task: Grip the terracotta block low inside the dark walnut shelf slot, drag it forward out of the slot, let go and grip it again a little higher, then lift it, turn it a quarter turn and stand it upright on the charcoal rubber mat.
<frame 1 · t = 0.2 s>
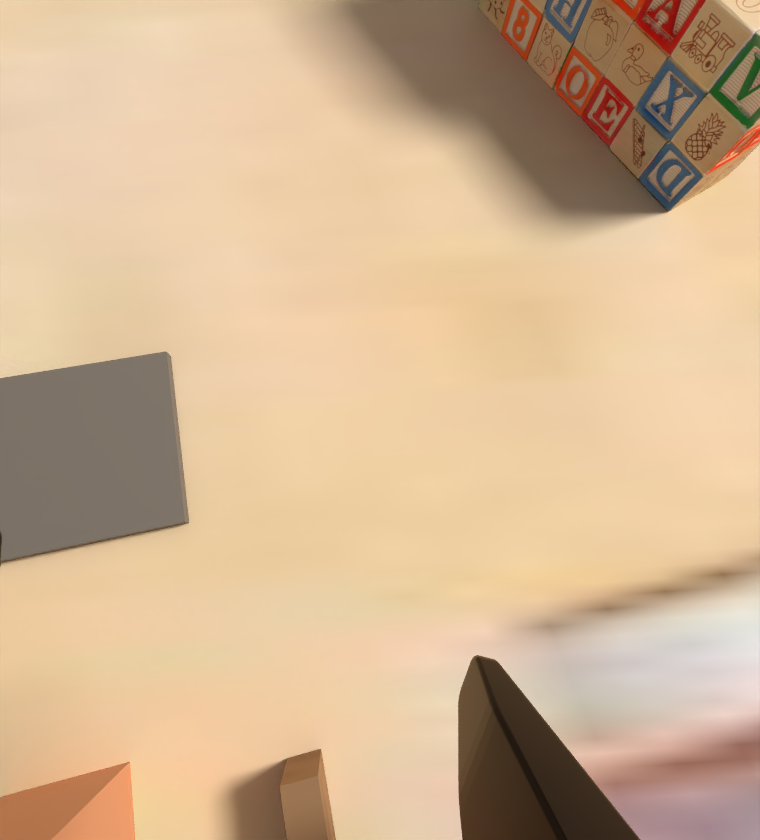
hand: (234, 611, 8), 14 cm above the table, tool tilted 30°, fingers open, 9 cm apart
charcoal mat: (55, 458, 23), on the table
stack of blocks: (595, 91, 33), on the table
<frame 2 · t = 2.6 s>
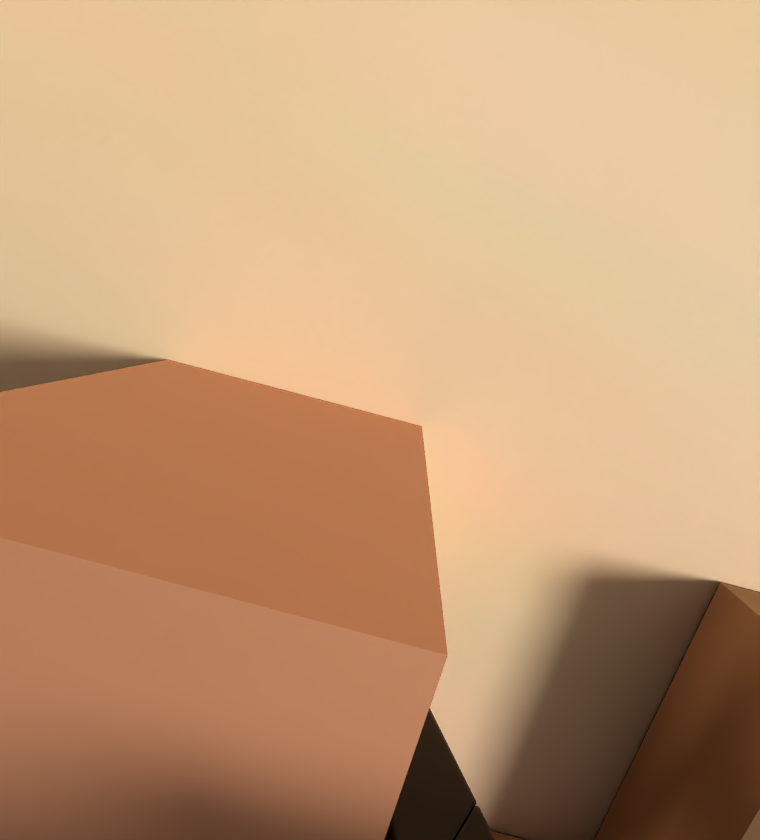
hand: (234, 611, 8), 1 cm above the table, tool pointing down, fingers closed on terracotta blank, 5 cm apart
walnut shelf slot: (255, 575, 10), on the table
terracotta blank: (189, 687, 7), in the walnut shelf slot, touching gripper
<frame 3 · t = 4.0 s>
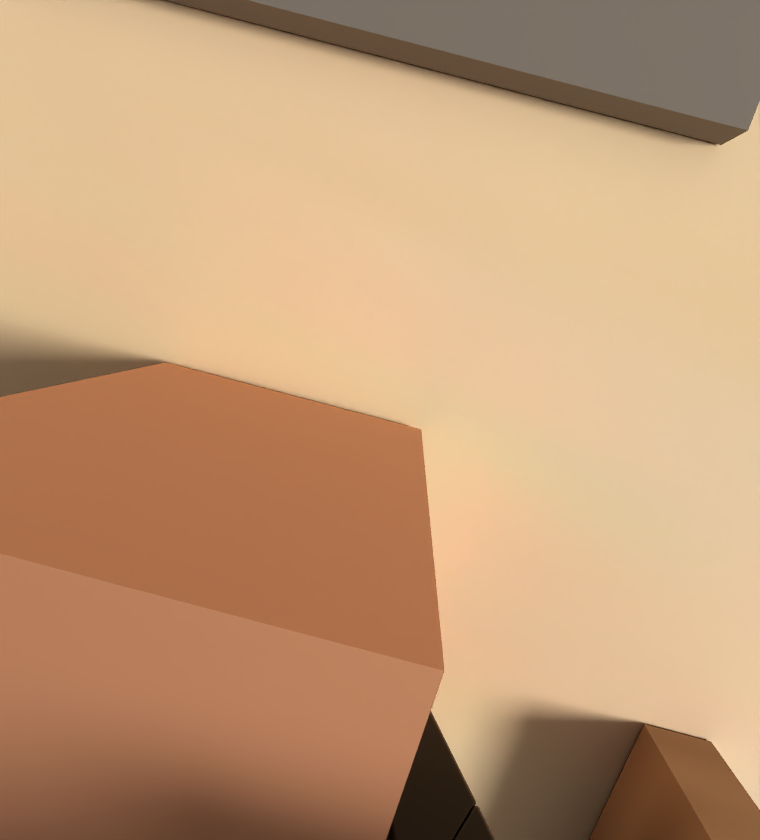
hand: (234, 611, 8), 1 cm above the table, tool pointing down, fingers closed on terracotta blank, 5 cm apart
walnut shelf slot: (225, 710, 11), on the table
terracotta blank: (187, 692, 7), on the table, touching gripper
when the fingers open (1 cm above the table, at t = 5.1 s): terracotta blank stays where it is, on the table.
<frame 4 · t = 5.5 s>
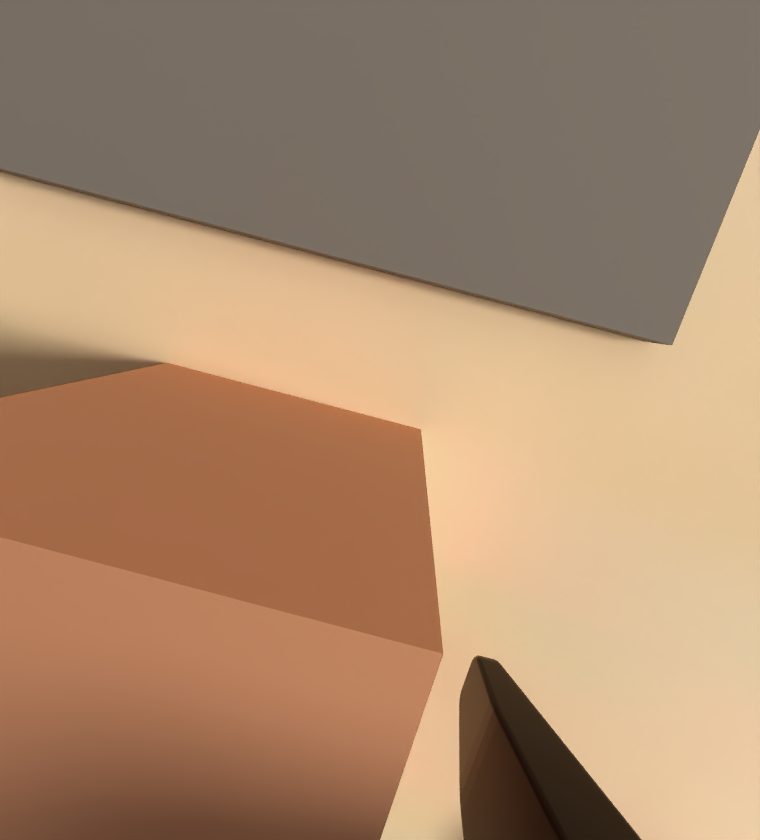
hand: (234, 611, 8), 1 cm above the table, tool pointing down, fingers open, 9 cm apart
terracotta blank: (192, 685, 7), on the table
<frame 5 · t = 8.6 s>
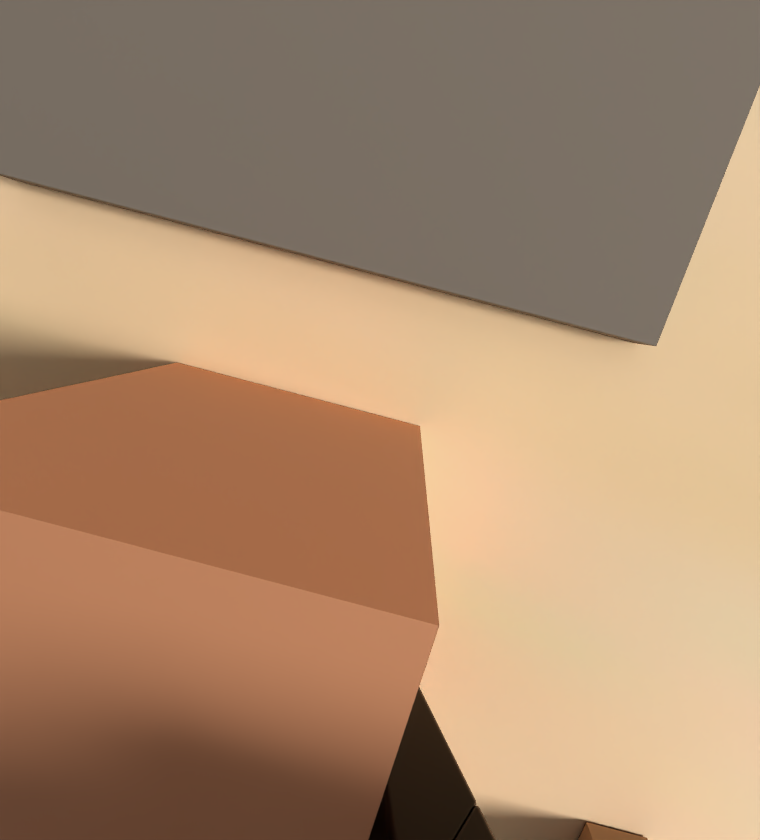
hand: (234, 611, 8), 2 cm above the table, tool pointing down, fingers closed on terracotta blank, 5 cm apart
walnut shelf slot: (209, 803, 12), on the table
terracotta blank: (200, 671, 7), on the table, touching gripper
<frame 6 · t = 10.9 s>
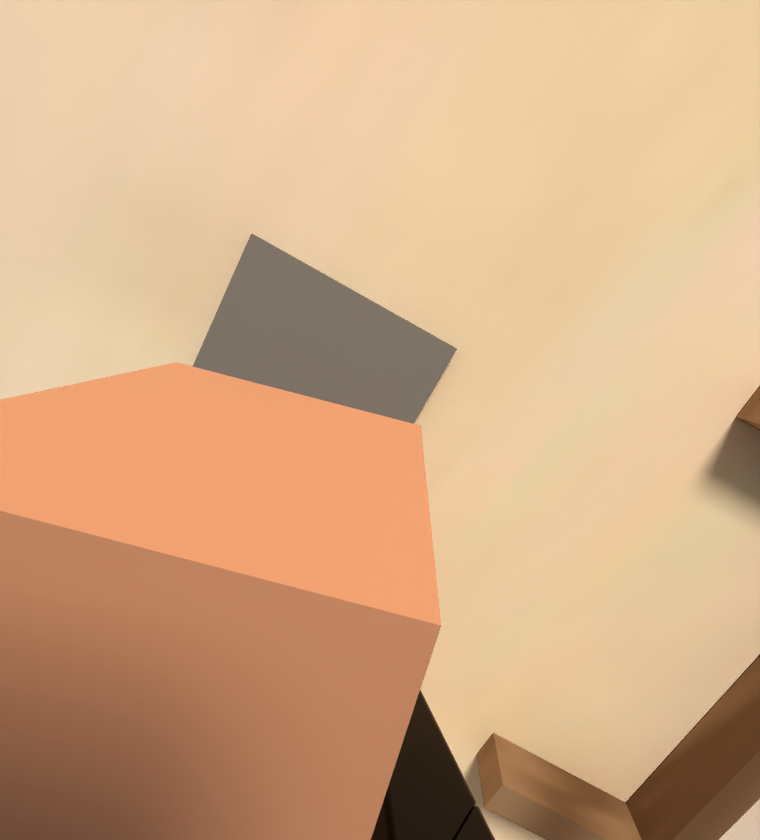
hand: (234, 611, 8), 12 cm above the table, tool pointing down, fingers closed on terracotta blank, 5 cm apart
walnut shelf slot: (651, 617, 20), on the table
terracotta blank: (201, 672, 7), point 13 cm above the table, touching gripper
charcoal mat: (291, 420, 20), on the table
when the fingers open (4 cm above the table, at t = 13.3 s): terracotta blank drops 1 cm, resting on charcoal mat.
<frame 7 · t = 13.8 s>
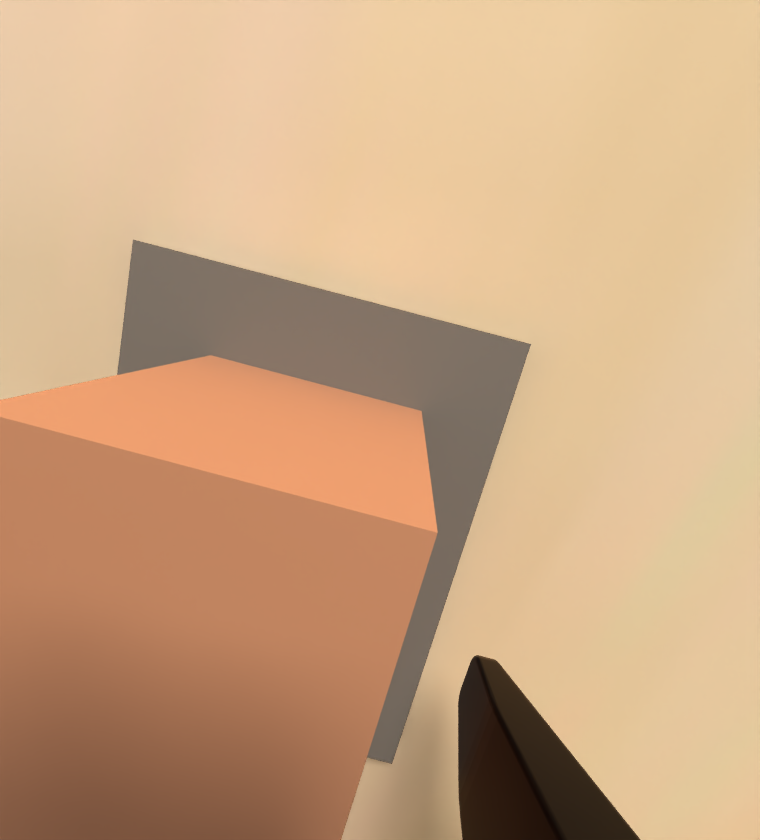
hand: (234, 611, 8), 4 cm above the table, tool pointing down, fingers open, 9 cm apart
terracotta blank: (238, 612, 9), on the charcoal mat, point 4 cm above the table
charcoal mat: (284, 523, 12), on the table
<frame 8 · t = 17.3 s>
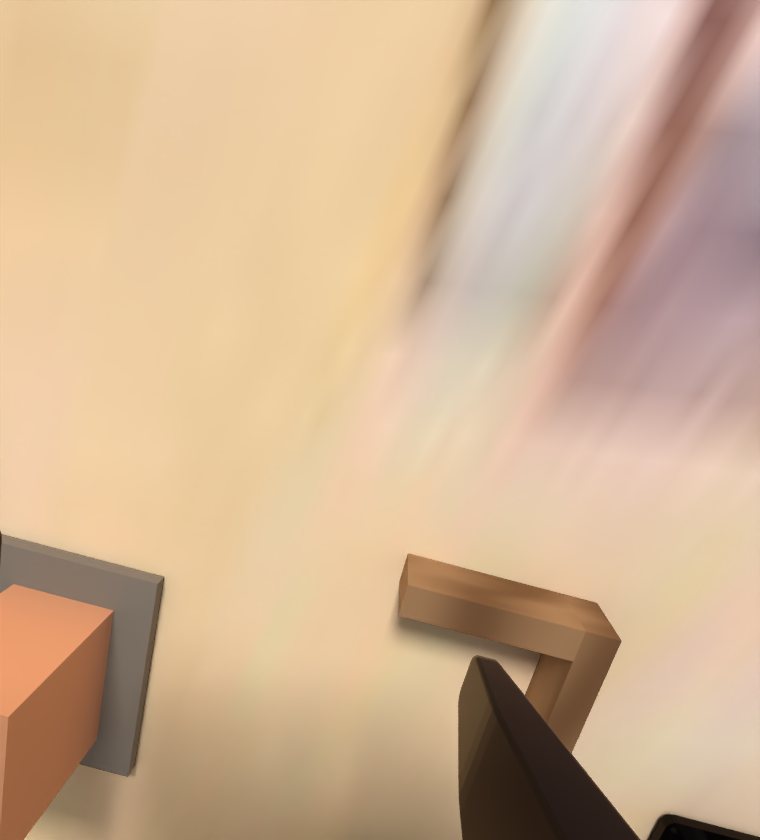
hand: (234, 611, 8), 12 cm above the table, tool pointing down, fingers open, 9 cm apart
walnut shelf slot: (401, 743, 24), on the table
terracotta blank: (6, 715, 20), on the charcoal mat, point 4 cm above the table
charcoal mat: (63, 654, 24), on the table
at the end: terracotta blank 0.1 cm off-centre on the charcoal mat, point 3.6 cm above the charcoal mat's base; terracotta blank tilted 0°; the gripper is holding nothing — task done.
